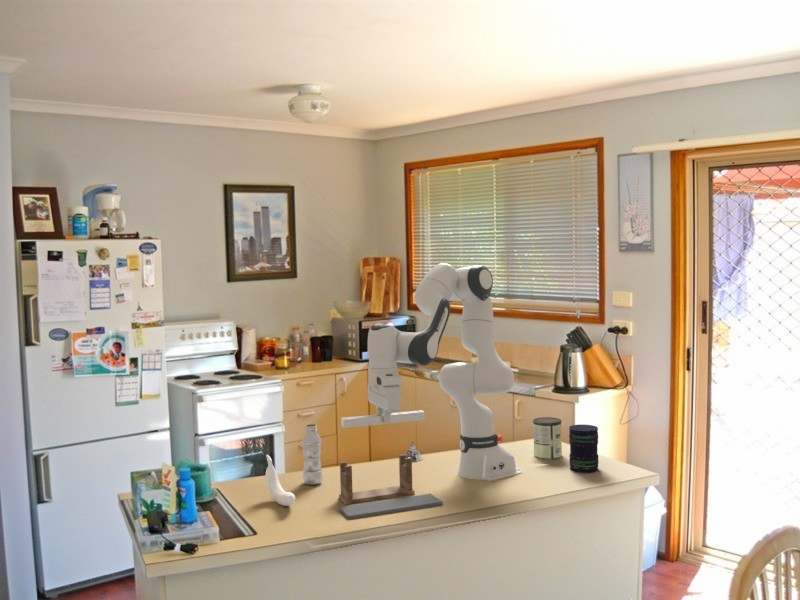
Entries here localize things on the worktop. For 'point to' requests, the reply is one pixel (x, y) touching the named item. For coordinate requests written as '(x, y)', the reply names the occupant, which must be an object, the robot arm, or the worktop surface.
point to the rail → (378, 419)
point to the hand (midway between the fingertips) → (383, 421)
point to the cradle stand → (376, 494)
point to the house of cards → (413, 453)
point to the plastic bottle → (312, 456)
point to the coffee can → (547, 438)
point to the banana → (277, 486)
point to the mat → (390, 506)
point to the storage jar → (583, 448)
